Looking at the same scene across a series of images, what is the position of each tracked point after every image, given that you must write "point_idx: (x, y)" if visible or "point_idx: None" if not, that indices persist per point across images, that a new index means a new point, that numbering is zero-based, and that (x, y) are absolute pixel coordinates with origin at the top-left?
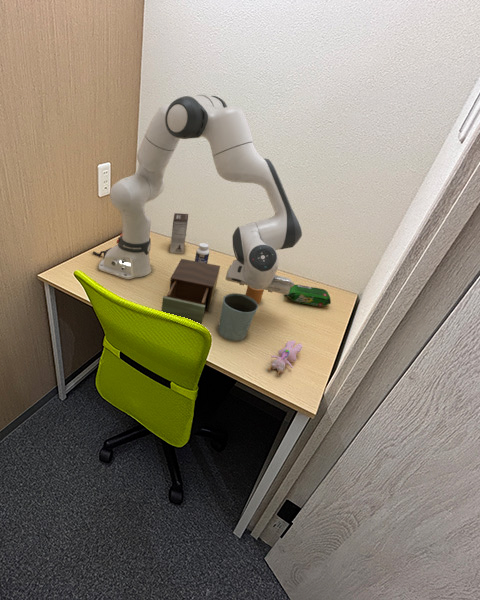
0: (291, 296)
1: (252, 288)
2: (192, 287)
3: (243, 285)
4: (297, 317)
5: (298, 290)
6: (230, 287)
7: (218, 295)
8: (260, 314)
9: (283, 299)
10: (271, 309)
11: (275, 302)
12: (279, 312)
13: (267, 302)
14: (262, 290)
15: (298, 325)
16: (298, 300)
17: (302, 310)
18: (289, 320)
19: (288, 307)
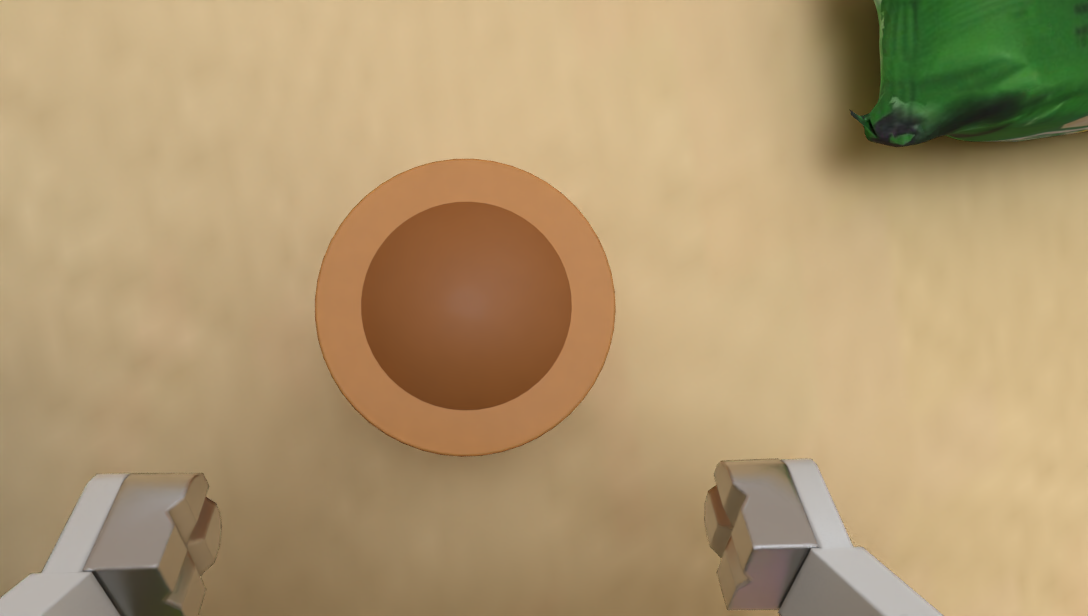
0: (958, 135)
1: (415, 433)
2: None
3: (212, 560)
4: (1017, 442)
5: (1081, 34)
6: (136, 130)
7: (11, 429)
8: (623, 610)
9: (823, 112)
10: (727, 421)
11: (747, 231)
12: (822, 440)
13: (658, 279)
14: (592, 384)
15: (1048, 609)
16: (1023, 140)
17: (1047, 258)
18: (948, 557)
19: (899, 271)
